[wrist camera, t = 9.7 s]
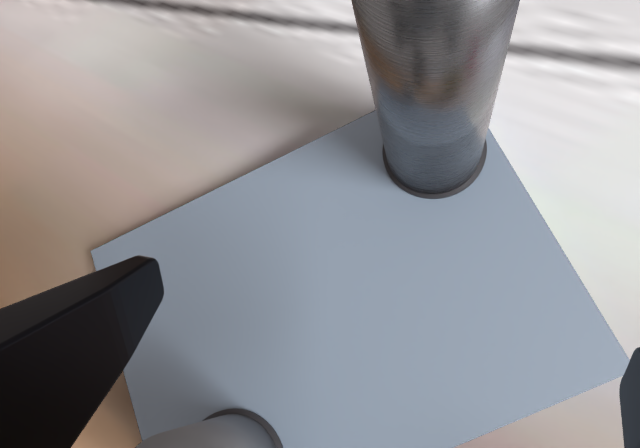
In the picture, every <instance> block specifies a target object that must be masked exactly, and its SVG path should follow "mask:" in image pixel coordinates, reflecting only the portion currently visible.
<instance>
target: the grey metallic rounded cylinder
mask: <svg viewBox="0 0 640 448" xmlns="http://www.w3.org/2000/svg"><path fill="white" fill-rule="evenodd" d="M519 2H520V0H352V5H353V9H354V14H355V18H356V23H357V27H358V32H359V36H360V41H361V45H362V50H363V54H364V59H365V63H366V68H367V72H368V77H369V81H370V86H371V90H372V94H373V99H374V103H375V108H376V112H377V117H378V121H379V126H380V130H381V135H382V139H383V144H384V148H385V153H386V157H387V161H388V165H389V168H390V170H391V172H392V173H393V175H394V176H395V178H396V179H397V180H398V181H399V182H400V183H401V184H402V185H404V186H405V187H407V188H409V189H411V190H413V191H415V192H418V193H423V194H443V193H447V192H450V191H452V190H455V189H457V188H459V187H460V186H462V185H463V184H464V183H466V182H467V181H468V180H469V179H470V178H471V177H472V175H473V174H474V173H475V171H476V169H477V167H478V165H479V163H480V159H481V155H482V151H483V147H484V143H485V139H486V135H487V131H488V127H489V123H490V119H491V115H492V111H493V107H494V102H495V98H496V94H497V90H498V86H499V82H500V78H501V74H502V70H503V66H504V62H505V58H506V54H507V50H508V46H509V42H510V38H511V34H512V30H513V26H514V22H515V18H516V14H517V10H518V6H519Z"/></svg>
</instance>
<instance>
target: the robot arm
mask: <svg viewBox="0 0 640 448" xmlns="http://www.w3.org/2000/svg"><path fill="white" fill-rule="evenodd" d="M163 296H164V286H163V281H162V276H161V272H160V267H159V263H158V261H157V260H156V259H155V258H152V257H147V256H141V255H137V256H134V257H131V258H129V259H126V260H123V261H121V262H118V263H116V264H113V265H111V266H108V267H106V268H103V269H101V270H98V271H96V272H93V273H90V274H88V275H85V276H83V277H80V278H78V279H75V280H73V281H70V282H68V283H65V284H62V285H60V286H57V287H55V288H52V289H50V290H47V291H45V292H42V293H40V294H37V295H34V296H32V297H29V298H27V299H24V300H22V301H19V302H17V303H14V304H12V305H9V306H6V307H4V308H1V309H0V448H71V447H72V445H73V444H74V442H75V441H76V439H77V438H78V436H79V435H80V433H81V432H82V430H83V429H84V427H85V426H86V425H87V423H88V422H89V420H90V419H91V417H92V416H93V414H94V413H95V411H96V410H97V408H98V407H99V405H100V404H101V402H102V401H103V399H104V398H105V396H106V395H107V394H108V392H109V391H110V389H111V388H112V386H113V385H114V383H115V382H116V380H117V379H118V377H119V376H120V374H121V373H122V371H123V370H124V368H125V367H126V365H127V364H128V362H129V361H130V359H131V357H132V355H133V354H134V352H135V350H136V348H137V346H138V345H139V343H140V341H141V339H142V337H143V335H144V333H145V332H146V330H147V328H148V326H149V324H150V322H151V320H152V319H153V317H154V315H155V313H156V311H157V309H158V307H159V305H160V304H161V302H162V299H163ZM620 405H621V416H622V427H623V437H624V448H640V347H639V348H637V349H636V350H635V351H634V352H633V355H632V357H631V359H630V361H629V364H628V366H627V368H626V371H625V373H624V375H623V378H622V380H621V384H620Z"/></svg>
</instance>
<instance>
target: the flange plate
mask: <svg viewBox="0 0 640 448" xmlns="http://www.w3.org/2000/svg"><path fill="white" fill-rule="evenodd" d="M91 254H92V258H93V261H94V265H95V269H96V271H98V270H101V269H103V268H106V267H108V266H111V265H113V264H116V263H118V262H121V261H123V260H126V259H129V258H131V257H134V256H137V255H141V256H147V257H152V258H155V259H156V260H157V261H158V263H159V267H160V272H161V276H162V281H163V286H164V296H163V299H162V302H161V304H160V305H159V307H158V309H157V311H156V313H155V315H154V317H153V319H152V320H151V322H150V324H149V326H148V328H147V330H146V332H145V333H144V335H143V337H142V339H141V341H140V343H139V345H138V346H137V348H136V350H135V352H134V354H133V355H132V357H131V359H130V361H129V362H128V364H127V365H126V367H125V368H124V370H123V372H124V375H125V379H126V383H127V386H128V390H129V394H130V397H131V401H132V405H133V409H134V412H135V416H136V420H137V423H138V427H139V431H140V434H141V438H142V442H141V443H140V444H138V445H137V446H136V447H135V448H454V447H456V446H458V445H461V444H463V443H465V442H468V441H470V440H472V439H475V438H477V437H480V436H482V435H484V434H487V433H489V432H491V431H494V430H496V429H498V428H501V427H503V426H505V425H508V424H510V423H512V422H515V421H517V420H520V419H522V418H524V417H527V416H529V415H531V414H534V413H536V412H538V411H541V410H543V409H545V408H548V407H550V406H553V405H555V404H557V403H560V402H562V401H564V400H567V399H569V398H571V397H574V396H576V395H578V394H581V393H583V392H585V391H588V390H590V389H593V388H595V387H597V386H600V385H602V384H604V383H607V382H609V381H611V380H614V379H616V378H618V377H621V376H623V375H624V373H625V371H626V368H627V366H628V364H629V361H630V360H629V358H628V357H627V355H626V353H625V352H624V350H623V348H622V347H621V345H620V344H619V342H618V340H617V339H616V337H615V335H614V334H613V332H612V330H611V329H610V327H609V325H608V324H607V322H606V321H605V319H604V317H603V316H602V314H601V312H600V311H599V309H598V307H597V306H596V304H595V302H594V301H593V299H592V297H591V296H590V294H589V293H588V291H587V289H586V288H585V286H584V284H583V283H582V281H581V279H580V278H579V276H578V274H577V273H576V271H575V270H574V268H573V266H572V265H571V263H570V261H569V260H568V258H567V256H566V255H565V253H564V251H563V250H562V248H561V246H560V245H559V243H558V242H557V240H556V238H555V237H554V235H553V233H552V232H551V230H550V228H549V227H548V225H547V223H546V222H545V220H544V218H543V217H542V215H541V214H540V212H539V210H538V209H537V207H536V205H535V204H534V202H533V200H532V199H531V197H530V195H529V194H528V192H527V191H526V189H525V187H524V186H523V184H522V182H521V181H520V179H519V177H518V176H517V174H516V172H515V171H514V169H513V167H512V166H511V164H510V163H509V161H508V159H507V158H506V156H505V154H504V153H503V151H502V149H501V148H500V146H499V144H498V143H497V141H496V140H495V138H494V136H493V135H492V133H491V131H490V130H489V128H488V131H487V135H486V139H485V143H484V147H483V151H482V155H481V159H480V163H479V165H478V167H477V169H476V171H475V173H474V174H473V175H472V177H471V178H470V179H469V180H468V181H467V182H466V183H464V184H463V185H462V186H460V187H459V188H457V189H455V190H452V191H450V192H447V193H443V194H423V193H418V192H415V191H413V190H411V189H409V188H407V187H405V186H404V185H402V184H401V183H400V182H399V181H398V180H397V179H396V178H395V176H394V175H393V173H392V172H391V170H390V168H389V165H388V161H387V157H386V153H385V148H384V144H383V139H382V135H381V130H380V126H379V121H378V117H377V112H376V110H375V111H373V112H371V113H369V114H367V115H365V116H363V117H361V118H359V119H357V120H355V121H353V122H351V123H349V124H347V125H345V126H343V127H341V128H339V129H337V130H335V131H333V132H330V133H328V134H326V135H324V136H322V137H320V138H318V139H316V140H314V141H312V142H310V143H308V144H306V145H304V146H302V147H300V148H298V149H296V150H294V151H292V152H290V153H288V154H286V155H284V156H282V157H280V158H278V159H276V160H274V161H272V162H270V163H268V164H266V165H264V166H262V167H260V168H258V169H256V170H254V171H252V172H249V173H247V174H245V175H243V176H241V177H239V178H237V179H235V180H233V181H231V182H229V183H227V184H225V185H223V186H221V187H219V188H217V189H215V190H213V191H211V192H209V193H207V194H205V195H203V196H201V197H199V198H197V199H195V200H193V201H191V202H189V203H187V204H185V205H183V206H181V207H179V208H177V209H175V210H173V211H171V212H168V213H166V214H164V215H162V216H160V217H158V218H156V219H154V220H152V221H150V222H148V223H146V224H144V225H142V226H140V227H138V228H136V229H134V230H132V231H130V232H128V233H126V234H124V235H122V236H120V237H118V238H116V239H114V240H112V241H110V242H108V243H106V244H104V245H102V246H100V247H98V248H96V249H94V250H92V251H91Z"/></svg>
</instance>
